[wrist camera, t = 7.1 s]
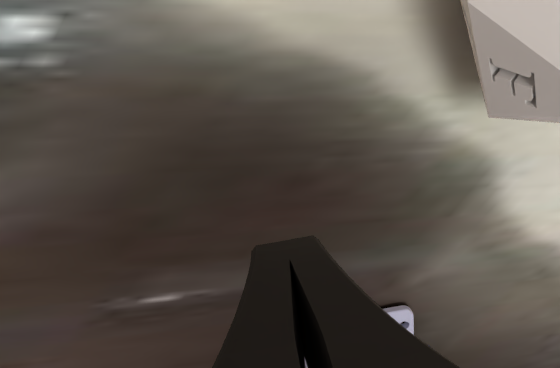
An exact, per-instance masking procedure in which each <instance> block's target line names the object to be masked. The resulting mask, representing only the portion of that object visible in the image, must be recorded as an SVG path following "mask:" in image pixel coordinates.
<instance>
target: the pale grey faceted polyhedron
mask: <svg viewBox="0 0 560 368" xmlns="http://www.w3.org/2000/svg"><path fill="white" fill-rule="evenodd" d="M460 1H461V5H462V10H463V14H464V18H465V22H466V26H467V29H468V34H469V38H470V42H471V46H472V51H473V55H474V59H475V63H476V67H477V71H478V75H479V79H480V83H481V88H482V92H483V96H484V100H485V104H486V108H487V112H488V116H489V117H492V118H504V119H517V120H529V121H542V122H554V123H560V0H460Z"/></svg>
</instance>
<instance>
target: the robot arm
mask: <svg viewBox="0 0 560 368" xmlns="http://www.w3.org/2000/svg"><path fill="white" fill-rule="evenodd" d="M402 322H405V323H404V324H400V323H402ZM212 368H460V367H458V366H457V365H455V364H454V363H452V362H451V361H449V360H448V359H446V358H445V357H443V356H442V355H441V354H439V353H438V352H436V351H435V350H433V349H432V348H431V347H429V346H428V345H427V344H425V343H424V342H422V341H421V340H420V339H418V338H417V337H416V336H414V316H413V312H412V310H411V309H410V308H409V307H408V306H406V305H401V306H395V307H390V308H384V309H382V308H381V307H380V306H379V305H378V304H376V303H375V302H374V301H373V300H372V299H371V298H370V297H369V296H368V295H367V294H366V293H365V292H364V291H363V290H362V289H361V288H360V287H359V286H358V285H357V284H356V283H355V282H354V281H353V280H352V279H351V278H350V277H349V276H348V275H347V274H346V273H345V272H344V270H343V269H342V268H341V267H340V266H339V265H338V264H337V263H336V261H335V260H334V259H333V258H332V257H331V255H330V254H329V253H328V252H327V250H326V249H325V248H324V246H323V245H322V244H321V242H320V241H319V239H317V238H316V237H314V236H308V237H302V238H297V239H291V240H286V241H280V242H274V243H269V244H263V245H257V246H256V247H255V248H254V249H253V250H252V254H251V263H250V268H249V273H248V277H247V280H246V284H245V288H244V291H243V294H242V297H241V300H240V303H239V306H238V309H237V312H236V314H235V317H234V320H233V322H232V324H231V327H230V329H229V332H228V334H227V336H226V339H225V341H224V343H223V346H222V348H221V350H220V353H219V355H218V357H217V359H216V361H215V363H214V365H213V367H212Z"/></svg>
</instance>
